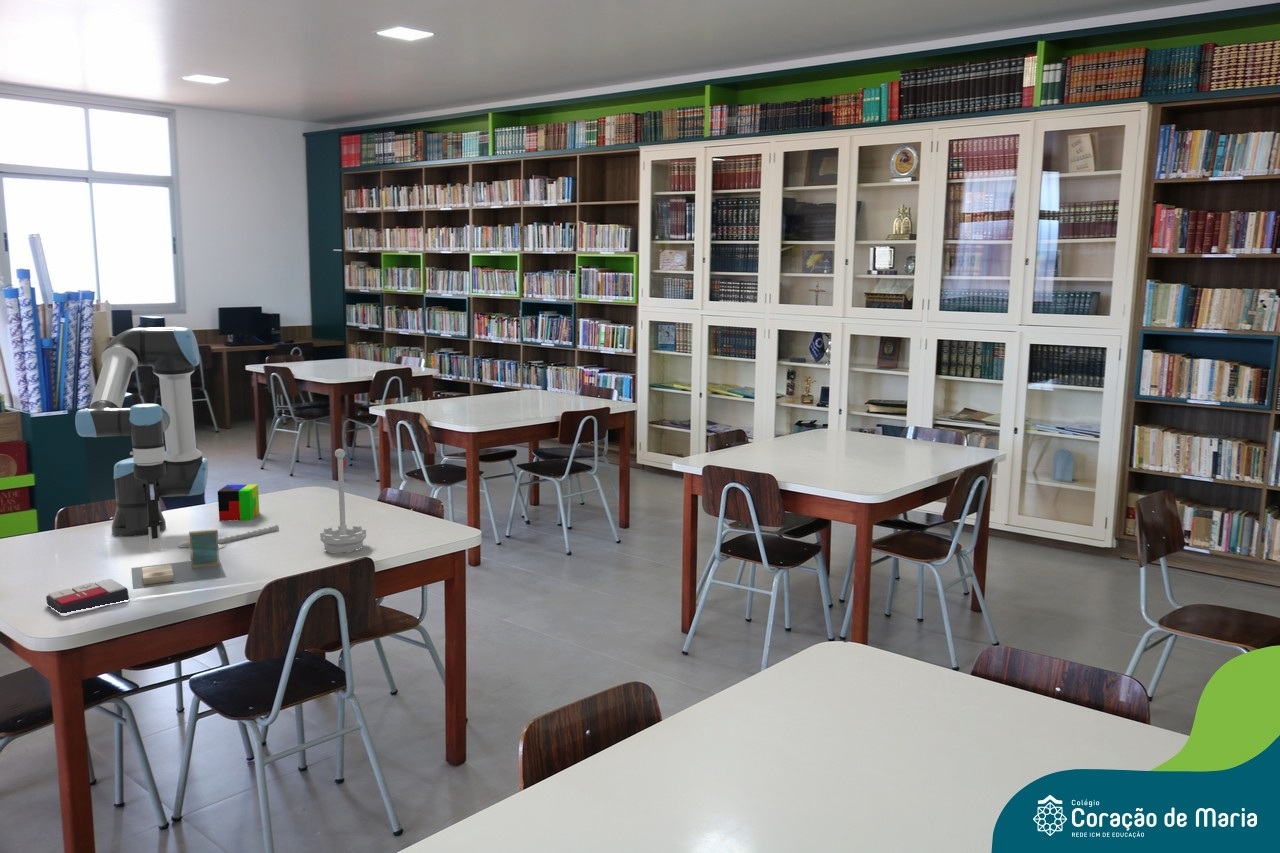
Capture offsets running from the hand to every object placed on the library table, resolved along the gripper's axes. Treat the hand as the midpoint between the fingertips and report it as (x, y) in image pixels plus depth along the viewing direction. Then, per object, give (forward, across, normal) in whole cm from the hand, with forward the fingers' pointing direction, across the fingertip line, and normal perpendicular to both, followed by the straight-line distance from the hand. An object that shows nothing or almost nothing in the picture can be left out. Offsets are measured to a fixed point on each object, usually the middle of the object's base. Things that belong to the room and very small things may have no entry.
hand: (155, 549), depth 254 cm
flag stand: (+8, -5, +50) cm, 51 cm away
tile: (+6, -1, 0) cm, 6 cm away
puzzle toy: (+8, -58, +27) cm, 64 cm away
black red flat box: (+8, +16, -16) cm, 24 cm away
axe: (+8, -28, +22) cm, 37 cm away
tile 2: (+7, -2, +12) cm, 14 cm away
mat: (+7, +1, +5) cm, 9 cm away
